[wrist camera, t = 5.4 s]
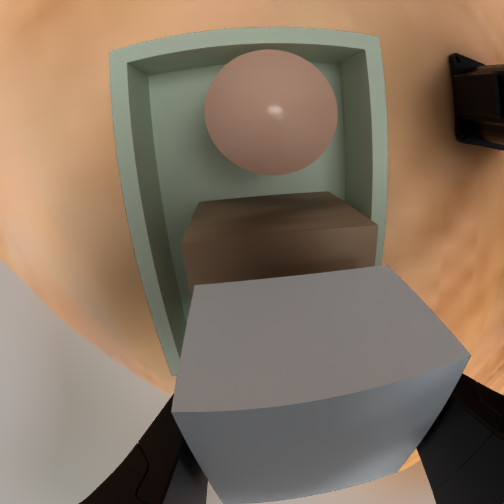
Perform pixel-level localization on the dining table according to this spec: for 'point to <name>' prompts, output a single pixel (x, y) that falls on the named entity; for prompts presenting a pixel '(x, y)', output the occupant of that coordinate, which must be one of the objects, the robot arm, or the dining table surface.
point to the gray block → (310, 381)
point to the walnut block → (275, 238)
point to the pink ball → (271, 112)
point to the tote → (214, 162)
